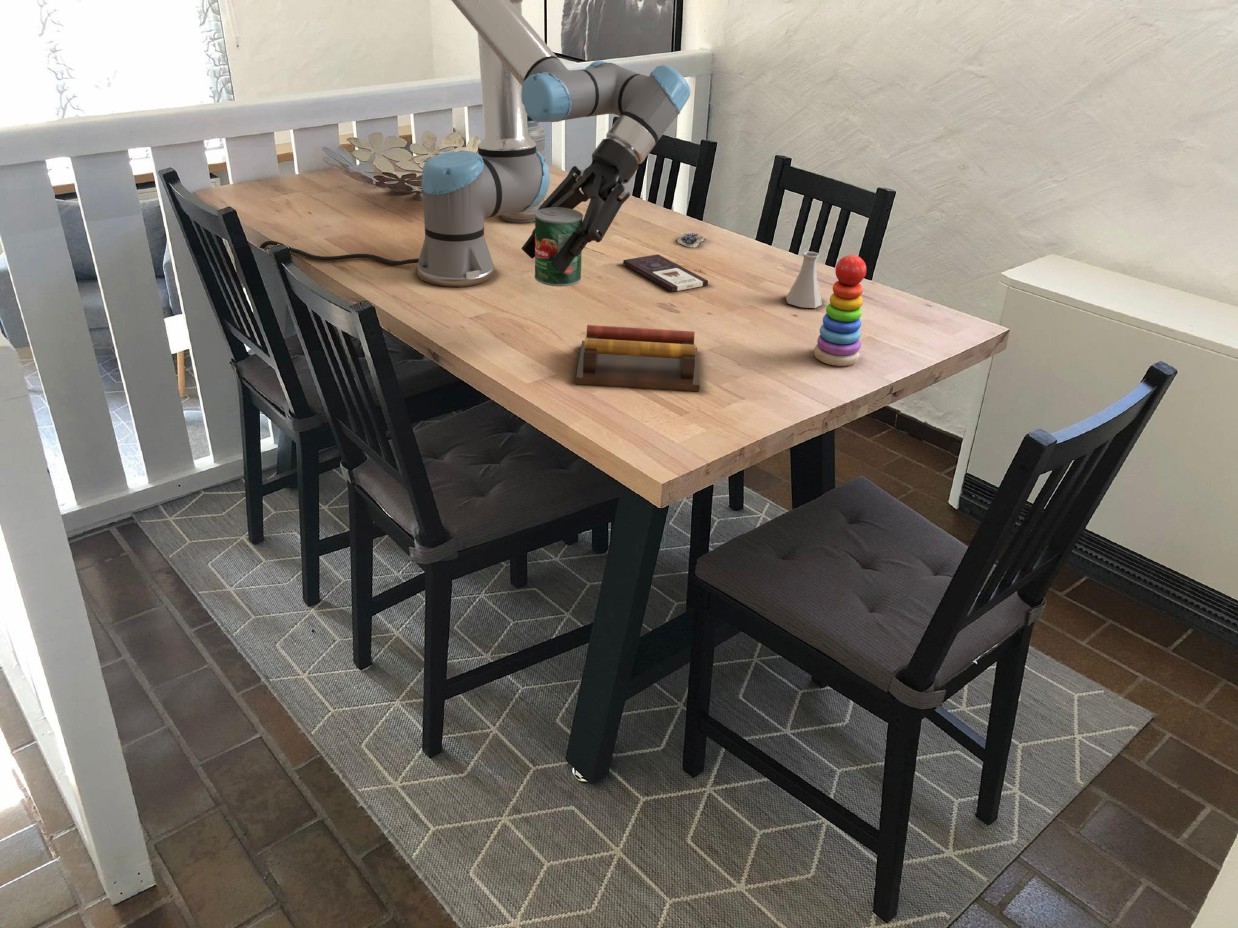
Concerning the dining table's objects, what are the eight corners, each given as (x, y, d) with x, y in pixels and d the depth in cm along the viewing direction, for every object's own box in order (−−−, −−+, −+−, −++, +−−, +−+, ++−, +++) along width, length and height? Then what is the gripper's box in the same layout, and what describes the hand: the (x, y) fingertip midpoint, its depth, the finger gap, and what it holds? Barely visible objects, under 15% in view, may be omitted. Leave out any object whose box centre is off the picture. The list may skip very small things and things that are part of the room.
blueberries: (706, 238, 229) (707, 230, 228) (705, 249, 222) (706, 240, 221) (677, 236, 229) (678, 227, 228) (676, 246, 223) (676, 238, 222)
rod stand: (575, 384, 159) (576, 349, 156) (582, 346, 172) (583, 314, 169) (699, 391, 159) (702, 357, 156) (696, 353, 172) (699, 321, 169)
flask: (824, 299, 198) (832, 251, 193) (818, 311, 192) (827, 262, 187) (789, 293, 200) (796, 245, 195) (782, 305, 194) (789, 256, 189)
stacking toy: (808, 348, 176) (824, 247, 167) (851, 349, 177) (870, 248, 167) (819, 367, 169) (837, 262, 160) (864, 368, 170) (884, 263, 161)
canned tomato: (590, 277, 168) (592, 213, 162) (563, 290, 162) (565, 224, 157) (552, 267, 172) (553, 204, 166) (525, 279, 166) (525, 214, 160)
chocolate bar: (658, 254, 214) (708, 280, 201) (657, 258, 214) (707, 285, 201) (623, 260, 209) (672, 287, 197) (623, 264, 210) (671, 291, 197)
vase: (524, 228, 228) (524, 125, 217) (485, 218, 234) (483, 117, 222) (553, 217, 237) (555, 118, 225) (514, 207, 242) (514, 110, 231)
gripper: (674, 180, 160) (591, 293, 159) (596, 152, 174) (520, 256, 173) (651, 150, 154) (565, 267, 154) (573, 124, 168) (493, 231, 167)
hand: (541, 261), depth 163 cm, fingers closed on canned tomato, 8 cm apart
